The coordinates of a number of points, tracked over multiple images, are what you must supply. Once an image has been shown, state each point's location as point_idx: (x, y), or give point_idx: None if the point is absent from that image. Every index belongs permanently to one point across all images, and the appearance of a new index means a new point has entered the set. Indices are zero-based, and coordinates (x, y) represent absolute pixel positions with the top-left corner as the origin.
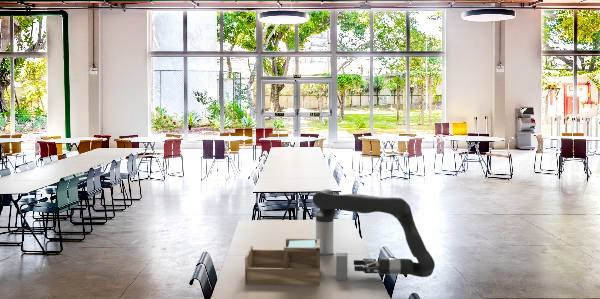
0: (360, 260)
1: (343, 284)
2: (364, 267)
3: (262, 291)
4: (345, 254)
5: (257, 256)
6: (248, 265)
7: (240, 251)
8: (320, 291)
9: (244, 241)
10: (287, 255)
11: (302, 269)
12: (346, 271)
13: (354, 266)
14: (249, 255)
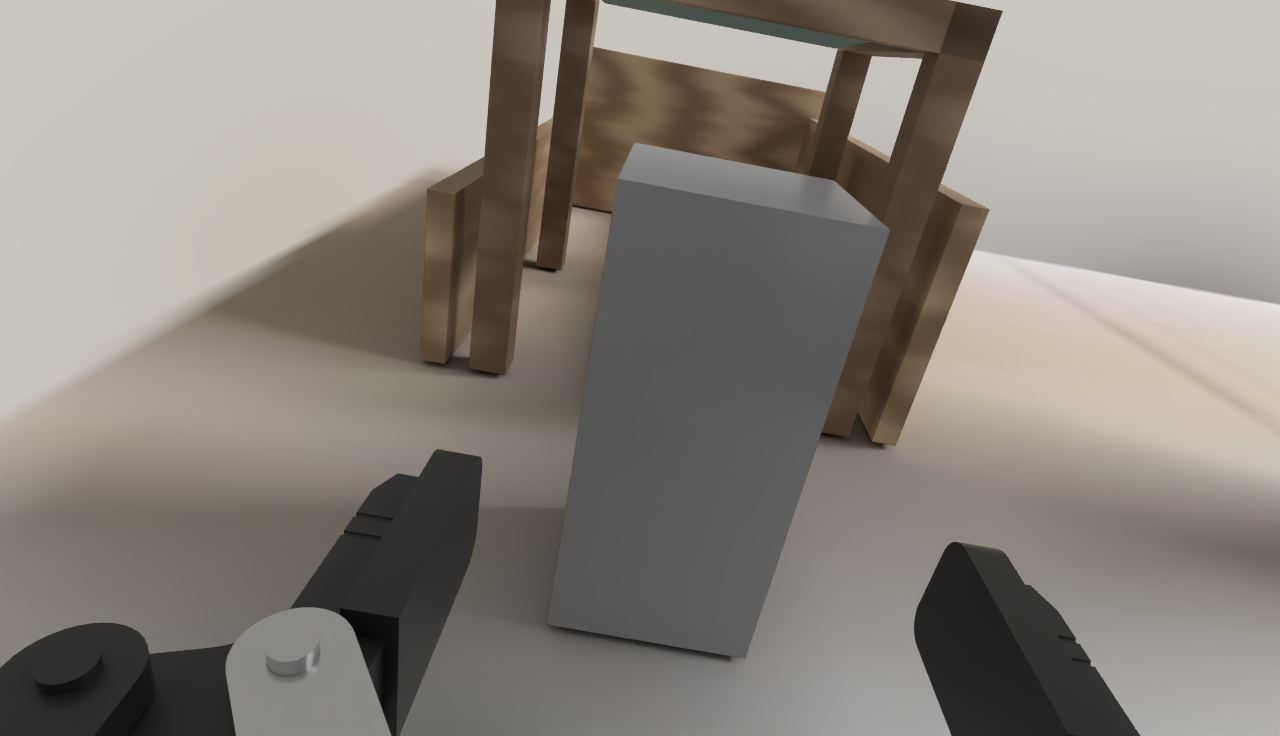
0: (1072, 697)
1: None
2: (235, 663)
3: (414, 202)
4: (756, 195)
5: (802, 164)
6: (614, 121)
7: (1077, 276)
8: (225, 336)
9: (1264, 311)
10: (808, 171)
11: (481, 160)
12: (569, 488)
13: (479, 461)
14: (668, 82)
